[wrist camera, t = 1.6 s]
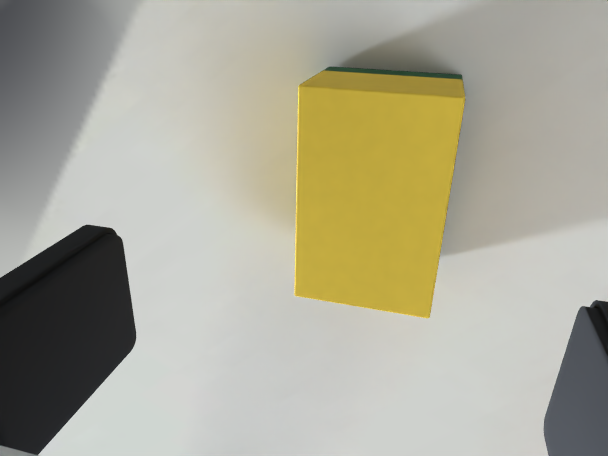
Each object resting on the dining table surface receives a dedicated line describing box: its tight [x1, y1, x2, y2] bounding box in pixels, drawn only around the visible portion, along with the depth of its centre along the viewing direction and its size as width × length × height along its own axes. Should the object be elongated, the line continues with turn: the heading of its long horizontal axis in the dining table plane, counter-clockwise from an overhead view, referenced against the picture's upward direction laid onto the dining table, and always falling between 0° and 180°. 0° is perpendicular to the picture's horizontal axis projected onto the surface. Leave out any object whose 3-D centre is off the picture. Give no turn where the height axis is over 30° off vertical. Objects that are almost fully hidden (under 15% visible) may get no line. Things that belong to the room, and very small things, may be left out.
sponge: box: [294, 67, 465, 318], centre depth 17 cm, size 7×4×4 cm, turn 179°
